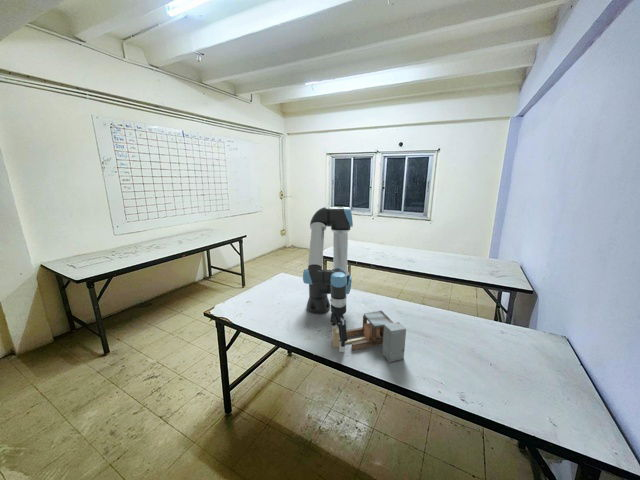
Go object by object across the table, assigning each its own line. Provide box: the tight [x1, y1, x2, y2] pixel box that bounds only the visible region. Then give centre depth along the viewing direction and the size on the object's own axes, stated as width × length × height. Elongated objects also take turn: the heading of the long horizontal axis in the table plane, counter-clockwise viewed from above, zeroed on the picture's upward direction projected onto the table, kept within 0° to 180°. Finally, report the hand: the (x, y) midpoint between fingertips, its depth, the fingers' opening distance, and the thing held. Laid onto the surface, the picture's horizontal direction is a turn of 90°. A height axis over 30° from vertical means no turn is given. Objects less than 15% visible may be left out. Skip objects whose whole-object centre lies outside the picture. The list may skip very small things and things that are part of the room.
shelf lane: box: [346, 310, 395, 351], centre depth 130 cm, size 12×22×11 cm, turn 106°
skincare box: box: [381, 321, 407, 363], centre depth 117 cm, size 8×7×16 cm
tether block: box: [331, 322, 381, 348], centre depth 128 cm, size 6×24×8 cm, turn 105°
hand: (338, 343), depth 127 cm, fingers open, 11 cm apart
